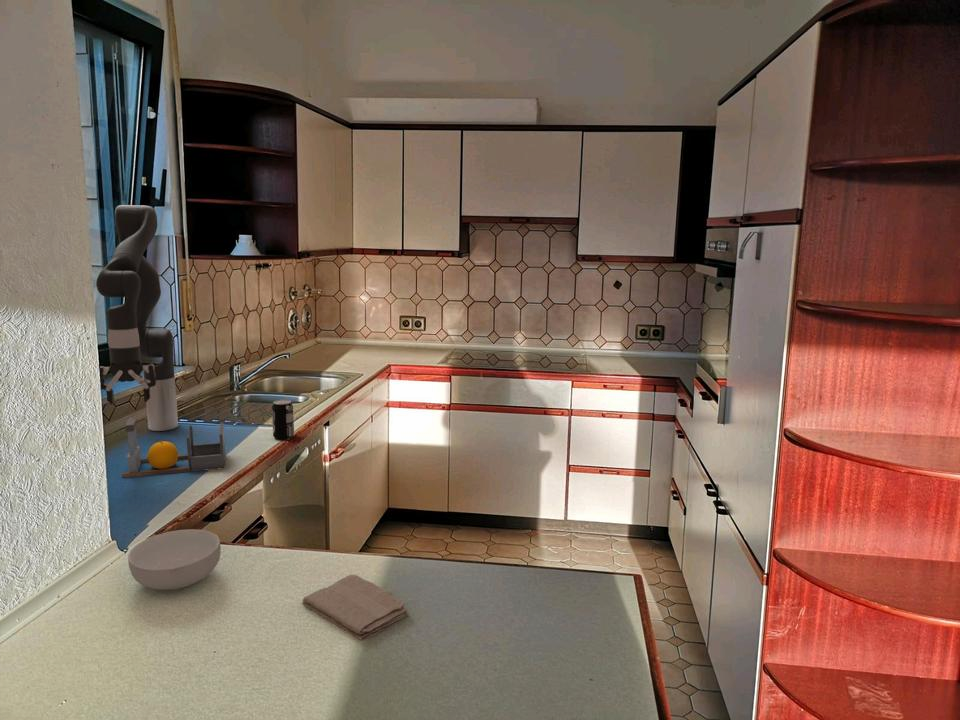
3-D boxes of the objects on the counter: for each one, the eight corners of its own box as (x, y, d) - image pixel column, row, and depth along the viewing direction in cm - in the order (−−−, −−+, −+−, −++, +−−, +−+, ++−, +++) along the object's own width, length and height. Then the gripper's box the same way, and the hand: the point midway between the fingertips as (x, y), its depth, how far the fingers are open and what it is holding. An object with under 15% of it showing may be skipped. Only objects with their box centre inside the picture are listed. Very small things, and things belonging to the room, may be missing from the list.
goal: (191, 457, 212) (189, 425, 210) (225, 454, 215) (223, 422, 213) (188, 471, 200) (186, 437, 199) (224, 468, 203) (222, 434, 201)
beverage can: (271, 435, 233) (269, 400, 231) (291, 433, 236) (290, 398, 234) (275, 441, 228) (273, 405, 225) (296, 438, 231) (294, 402, 228)
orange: (167, 472, 199) (165, 447, 198) (142, 470, 201) (140, 445, 199) (184, 463, 207) (182, 438, 206) (160, 461, 209) (158, 436, 207)
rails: (128, 463, 206) (128, 459, 206) (191, 457, 212) (191, 454, 211) (121, 477, 195) (121, 474, 195) (188, 471, 200) (188, 468, 200)
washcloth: (362, 645, 122) (362, 629, 121) (299, 608, 133) (298, 592, 132) (413, 617, 131) (412, 601, 130) (349, 583, 142) (349, 569, 141)
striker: (133, 463, 206) (129, 417, 203) (140, 462, 206) (137, 417, 203) (128, 474, 197) (124, 426, 194) (136, 473, 198) (132, 426, 195)
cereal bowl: (150, 560, 149) (147, 529, 148) (232, 559, 150) (230, 527, 149) (115, 604, 133) (112, 569, 131) (207, 602, 134) (205, 567, 132)
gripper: (154, 341, 200) (158, 397, 203) (97, 343, 196) (103, 401, 199) (151, 345, 193) (155, 404, 196) (92, 348, 189) (98, 407, 192)
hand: (129, 402), depth 198 cm, fingers open, 8 cm apart
